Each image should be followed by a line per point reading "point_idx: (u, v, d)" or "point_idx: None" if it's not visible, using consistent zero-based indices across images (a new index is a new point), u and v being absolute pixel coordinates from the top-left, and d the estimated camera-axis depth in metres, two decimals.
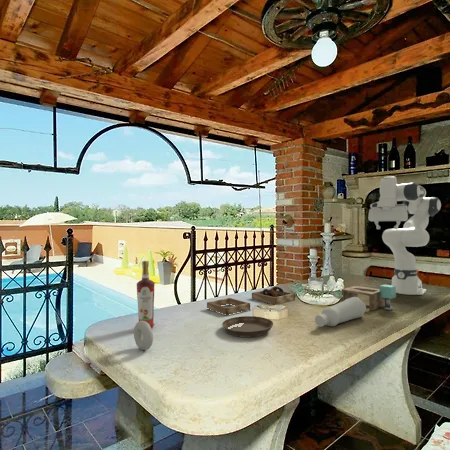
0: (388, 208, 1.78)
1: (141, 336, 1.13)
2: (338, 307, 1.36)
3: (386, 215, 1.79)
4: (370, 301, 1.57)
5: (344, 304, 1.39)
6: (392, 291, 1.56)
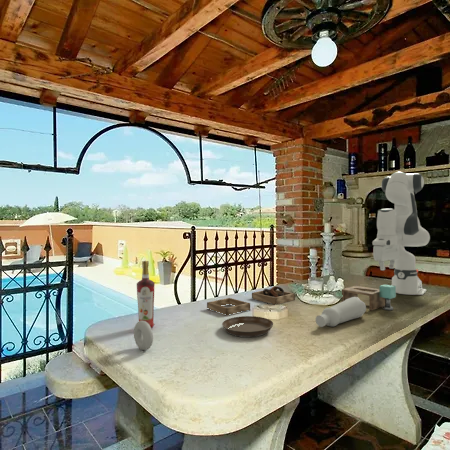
0: (394, 246, 1.57)
1: (141, 336, 1.13)
2: (338, 307, 1.36)
3: (391, 254, 1.57)
4: (370, 301, 1.57)
5: (344, 304, 1.39)
6: (392, 291, 1.56)
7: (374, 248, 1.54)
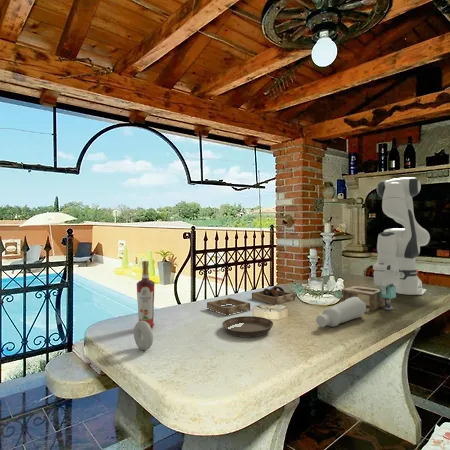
0: None
1: (141, 336, 1.13)
2: (339, 307, 1.36)
3: (391, 278, 1.57)
4: (370, 301, 1.57)
5: (345, 304, 1.39)
6: (393, 291, 1.56)
7: (374, 273, 1.54)
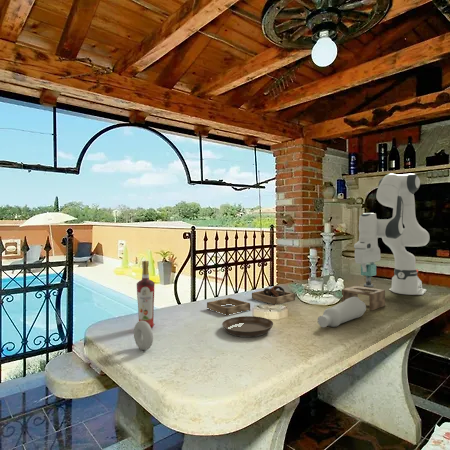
0: (374, 249, 1.64)
1: (141, 336, 1.13)
2: (340, 307, 1.35)
3: (372, 257, 1.64)
4: (370, 301, 1.57)
5: (345, 304, 1.39)
6: (373, 269, 1.63)
7: (355, 251, 1.60)
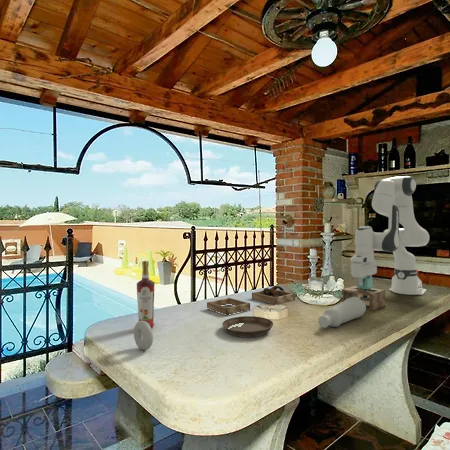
0: (371, 262, 1.65)
1: (141, 336, 1.13)
2: (340, 307, 1.35)
3: (368, 270, 1.65)
4: (370, 301, 1.57)
5: (345, 304, 1.38)
6: (369, 282, 1.64)
7: (352, 265, 1.62)
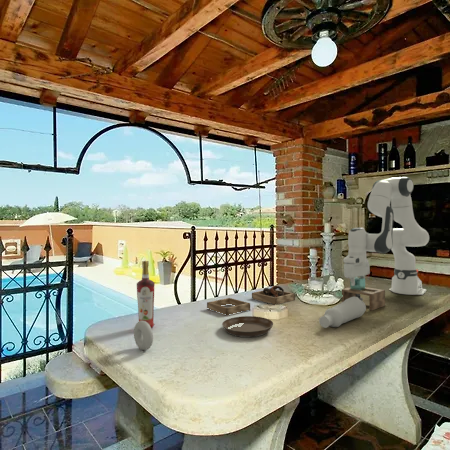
0: (363, 263, 1.68)
1: (141, 336, 1.13)
2: (341, 307, 1.35)
3: (360, 271, 1.68)
4: (370, 301, 1.57)
5: (346, 304, 1.38)
6: (362, 283, 1.67)
7: (344, 265, 1.65)
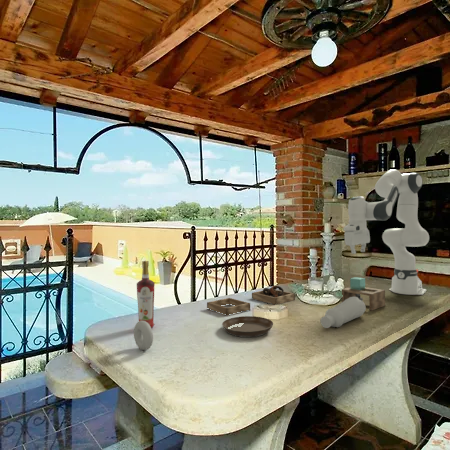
0: (363, 231, 1.71)
1: (141, 336, 1.13)
2: (341, 307, 1.35)
3: (361, 239, 1.71)
4: (370, 301, 1.57)
5: (346, 304, 1.38)
6: (362, 283, 1.67)
7: (345, 233, 1.67)
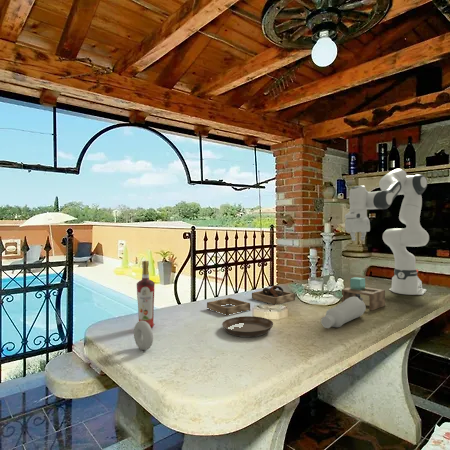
0: (364, 219, 1.75)
1: (141, 336, 1.13)
2: (342, 308, 1.35)
3: (361, 227, 1.75)
4: (370, 301, 1.57)
5: (346, 304, 1.38)
6: (362, 283, 1.67)
7: (346, 221, 1.72)
